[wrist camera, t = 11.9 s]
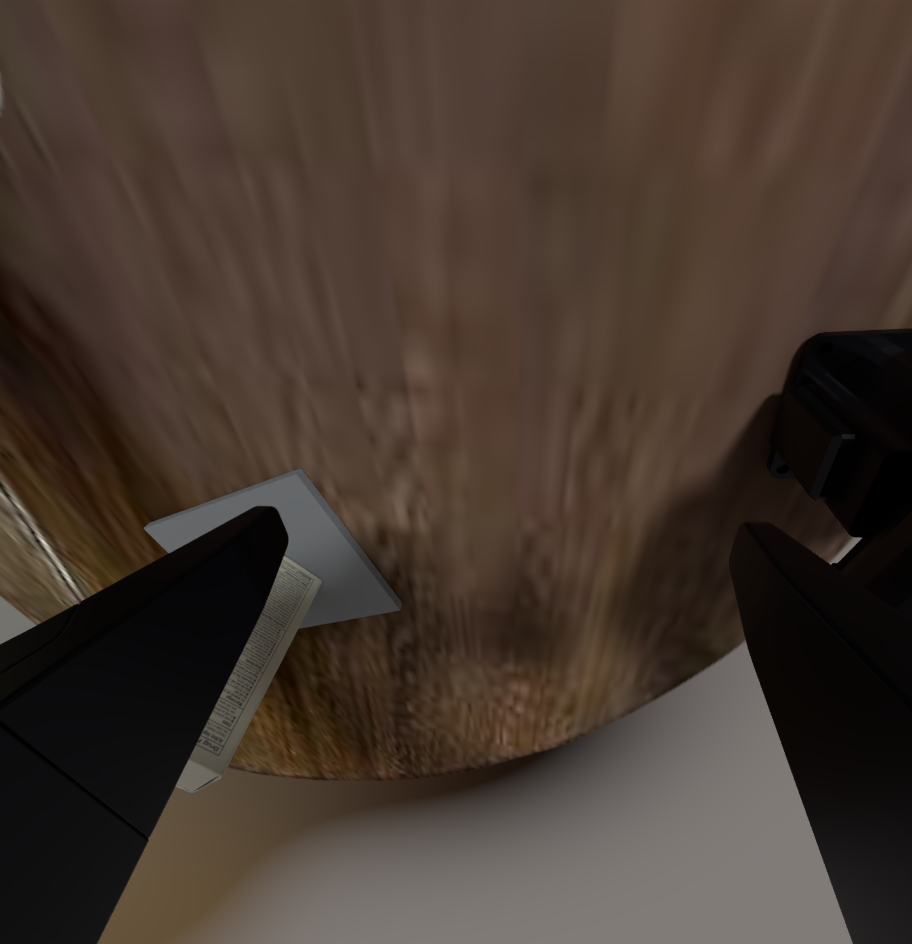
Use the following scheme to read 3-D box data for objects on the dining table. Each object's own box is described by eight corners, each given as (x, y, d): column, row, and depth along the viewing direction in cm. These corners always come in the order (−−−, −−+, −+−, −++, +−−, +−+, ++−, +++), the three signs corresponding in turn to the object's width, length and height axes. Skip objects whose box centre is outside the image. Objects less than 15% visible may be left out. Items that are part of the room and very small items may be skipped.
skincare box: (222, 558, 32) (71, 741, 22) (248, 527, 29) (91, 716, 19) (298, 607, 33) (190, 797, 23) (328, 581, 31) (222, 781, 21)
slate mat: (301, 468, 26) (296, 473, 26) (402, 603, 32) (400, 610, 31) (149, 522, 32) (143, 528, 31) (258, 630, 37) (254, 636, 37)
